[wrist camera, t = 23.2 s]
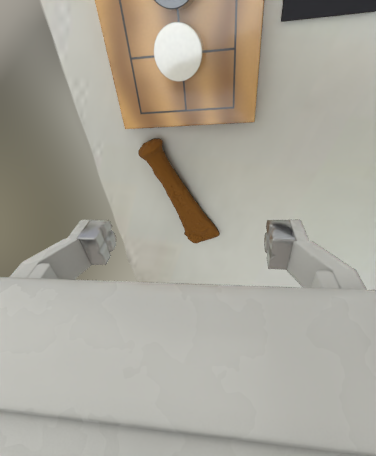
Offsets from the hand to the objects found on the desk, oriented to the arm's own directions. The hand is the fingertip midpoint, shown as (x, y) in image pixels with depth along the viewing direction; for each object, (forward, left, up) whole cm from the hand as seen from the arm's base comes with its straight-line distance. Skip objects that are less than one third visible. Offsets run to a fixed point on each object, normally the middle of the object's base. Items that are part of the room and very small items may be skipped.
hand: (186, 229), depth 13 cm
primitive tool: (+4, +12, -23) cm, 26 cm away
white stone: (+2, -6, -21) cm, 22 cm away
